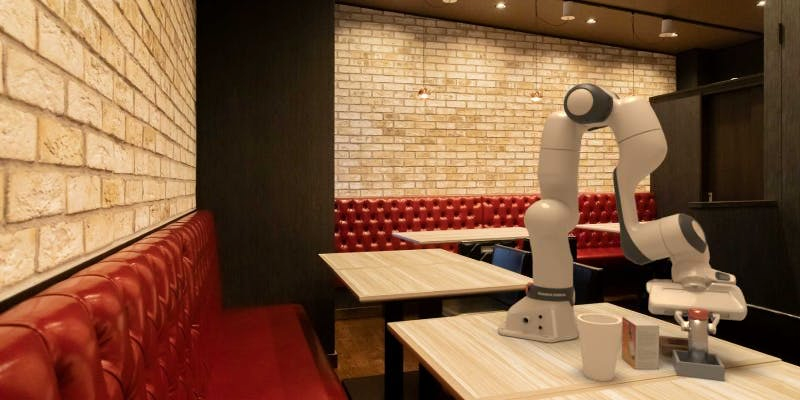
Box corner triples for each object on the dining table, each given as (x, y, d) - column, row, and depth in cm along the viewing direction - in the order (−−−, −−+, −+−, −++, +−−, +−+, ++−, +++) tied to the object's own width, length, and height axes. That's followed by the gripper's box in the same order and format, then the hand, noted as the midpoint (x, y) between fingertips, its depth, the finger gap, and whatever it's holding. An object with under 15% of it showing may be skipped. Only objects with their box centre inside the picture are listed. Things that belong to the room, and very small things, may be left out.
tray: (677, 375, 117) (677, 361, 117) (672, 362, 126) (672, 349, 126) (724, 381, 114) (724, 367, 114) (716, 367, 122) (716, 354, 122)
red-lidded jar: (689, 363, 119) (689, 311, 118) (686, 357, 122) (687, 307, 122) (709, 365, 117) (709, 312, 117) (706, 359, 121) (706, 308, 120)
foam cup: (597, 386, 111) (598, 326, 111) (567, 372, 120) (568, 316, 119) (630, 379, 115) (631, 321, 115) (599, 366, 124) (599, 311, 123)
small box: (621, 358, 129) (621, 315, 129) (644, 358, 129) (644, 316, 129) (634, 369, 121) (635, 324, 121) (659, 369, 121) (659, 324, 121)
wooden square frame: (661, 355, 131) (661, 345, 131) (658, 344, 139) (658, 335, 139) (702, 359, 128) (702, 349, 128) (697, 348, 136) (697, 339, 136)
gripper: (646, 271, 129) (648, 320, 121) (742, 276, 122) (753, 328, 113) (645, 285, 134) (647, 333, 125) (738, 291, 126) (747, 342, 117)
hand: (698, 331), depth 119 cm, fingers closed on red-lidded jar, 4 cm apart
